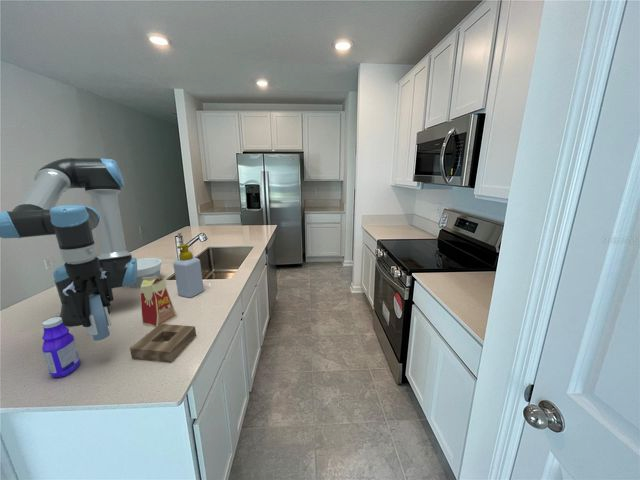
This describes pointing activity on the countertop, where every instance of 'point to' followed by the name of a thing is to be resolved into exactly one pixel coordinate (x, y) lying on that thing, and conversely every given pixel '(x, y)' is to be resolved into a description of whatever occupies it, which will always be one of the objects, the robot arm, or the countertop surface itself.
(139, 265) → the bowl
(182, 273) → the soap bottle
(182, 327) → the socket block
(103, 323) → the peg
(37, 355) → the countertop surface
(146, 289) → the milk carton
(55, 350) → the bottle
